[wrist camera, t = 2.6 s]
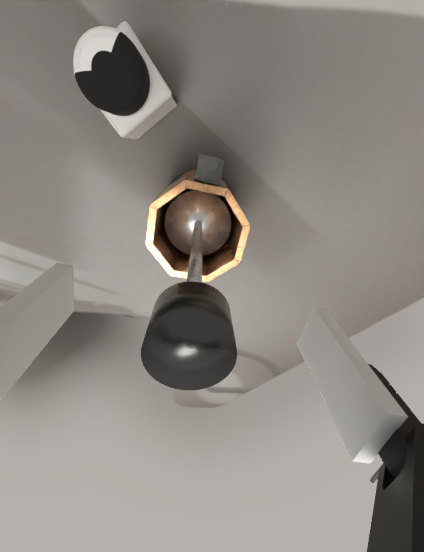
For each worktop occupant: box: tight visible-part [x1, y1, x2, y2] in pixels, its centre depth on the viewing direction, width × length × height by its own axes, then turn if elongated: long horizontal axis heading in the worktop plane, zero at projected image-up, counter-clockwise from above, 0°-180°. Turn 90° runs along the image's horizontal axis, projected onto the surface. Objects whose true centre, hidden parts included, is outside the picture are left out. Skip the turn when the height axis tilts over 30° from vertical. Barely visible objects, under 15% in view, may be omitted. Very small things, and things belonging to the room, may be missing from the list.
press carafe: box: [146, 153, 250, 282], centre depth 32 cm, size 10×12×14 cm
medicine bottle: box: [73, 21, 177, 140], centre depth 27 cm, size 7×7×12 cm
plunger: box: [141, 190, 237, 390], centre depth 21 cm, size 8×8×22 cm
